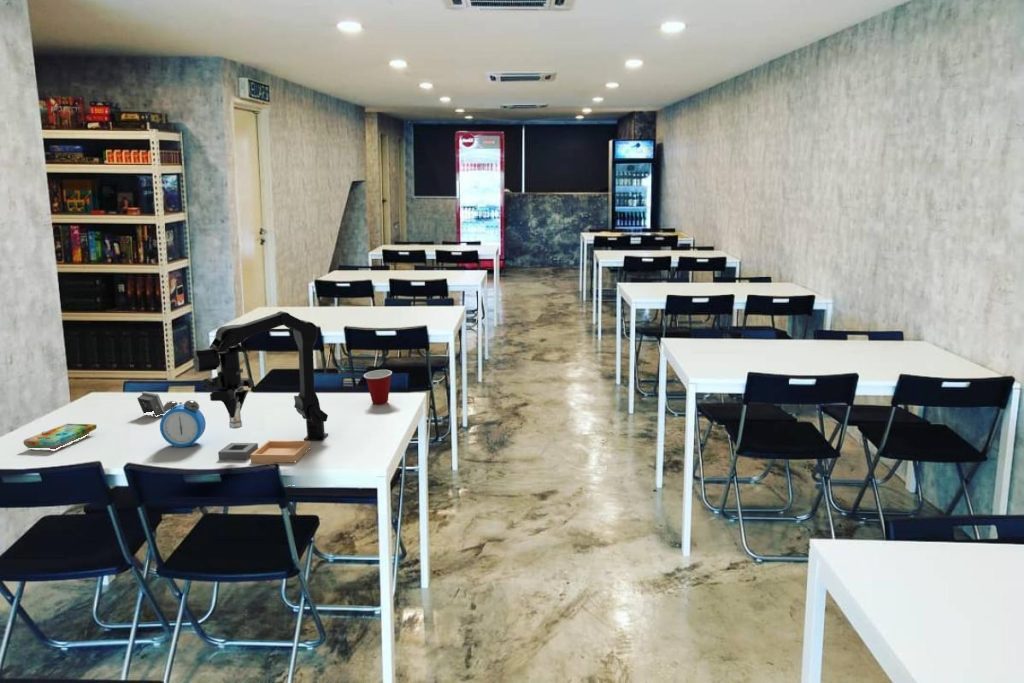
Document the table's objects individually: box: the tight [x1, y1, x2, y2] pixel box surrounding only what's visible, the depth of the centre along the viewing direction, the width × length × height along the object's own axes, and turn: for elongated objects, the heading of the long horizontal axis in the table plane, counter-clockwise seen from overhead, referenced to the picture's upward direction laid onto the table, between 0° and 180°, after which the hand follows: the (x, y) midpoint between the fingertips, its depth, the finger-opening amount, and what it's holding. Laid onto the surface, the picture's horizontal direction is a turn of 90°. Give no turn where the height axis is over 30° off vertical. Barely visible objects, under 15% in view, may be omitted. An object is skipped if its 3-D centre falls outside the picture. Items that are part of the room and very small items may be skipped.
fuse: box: [228, 401, 243, 429], centre depth 259 cm, size 4×4×8 cm
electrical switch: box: [136, 391, 167, 416], centre depth 310 cm, size 9×5×9 cm, turn 57°
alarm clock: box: [159, 399, 207, 448], centre depth 273 cm, size 13×6×15 cm, turn 93°
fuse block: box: [217, 442, 259, 461], centre depth 262 cm, size 9×9×2 cm
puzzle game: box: [22, 422, 97, 449], centre depth 281 cm, size 12×5×20 cm
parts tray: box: [250, 440, 311, 464], centre depth 260 cm, size 14×14×2 cm
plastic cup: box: [363, 369, 393, 406], centre depth 318 cm, size 11×11×12 cm
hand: (235, 415), depth 259 cm, fingers closed on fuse, 3 cm apart
